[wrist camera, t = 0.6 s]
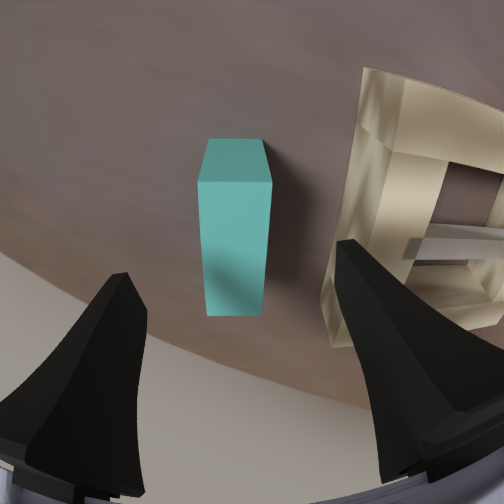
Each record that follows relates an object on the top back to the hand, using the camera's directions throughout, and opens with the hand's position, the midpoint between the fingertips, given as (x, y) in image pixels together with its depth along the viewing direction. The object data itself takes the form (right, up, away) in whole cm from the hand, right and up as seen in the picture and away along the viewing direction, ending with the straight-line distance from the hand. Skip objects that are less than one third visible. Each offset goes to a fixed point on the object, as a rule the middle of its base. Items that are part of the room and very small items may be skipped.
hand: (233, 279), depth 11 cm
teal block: (0, +4, +9) cm, 10 cm away
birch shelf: (+16, +4, +10) cm, 19 cm away
